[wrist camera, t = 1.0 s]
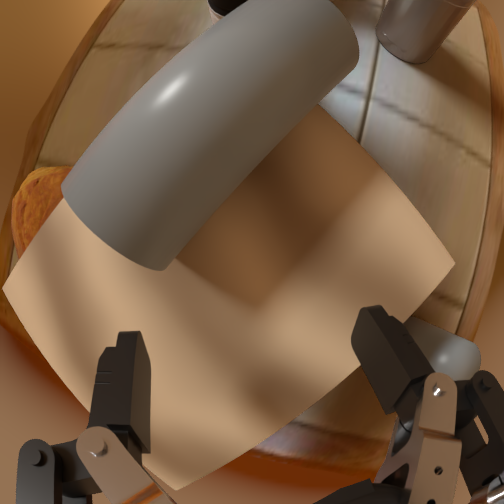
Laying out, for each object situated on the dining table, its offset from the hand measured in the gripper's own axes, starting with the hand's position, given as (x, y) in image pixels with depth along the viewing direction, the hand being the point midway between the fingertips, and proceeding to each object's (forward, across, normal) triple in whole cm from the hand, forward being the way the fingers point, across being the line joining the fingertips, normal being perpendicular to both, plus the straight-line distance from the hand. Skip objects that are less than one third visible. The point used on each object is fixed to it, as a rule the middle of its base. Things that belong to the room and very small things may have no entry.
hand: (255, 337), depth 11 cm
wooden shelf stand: (+20, -2, +11) cm, 23 cm away
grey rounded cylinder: (+11, -21, +18) cm, 30 cm away
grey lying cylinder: (+4, +5, -3) cm, 7 cm away
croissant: (+28, +20, +8) cm, 36 cm away
